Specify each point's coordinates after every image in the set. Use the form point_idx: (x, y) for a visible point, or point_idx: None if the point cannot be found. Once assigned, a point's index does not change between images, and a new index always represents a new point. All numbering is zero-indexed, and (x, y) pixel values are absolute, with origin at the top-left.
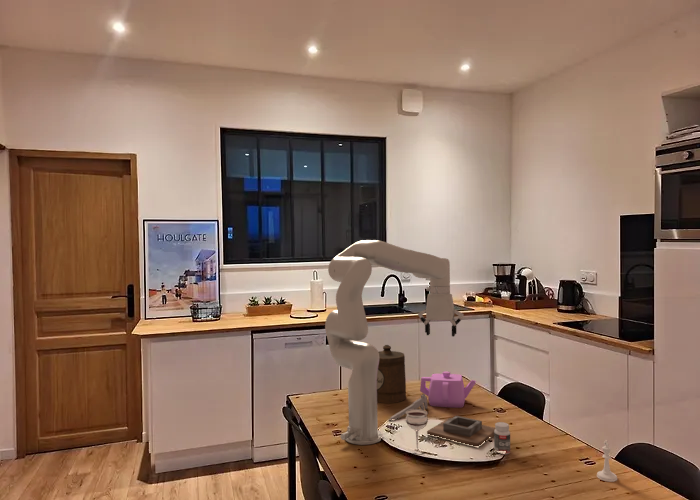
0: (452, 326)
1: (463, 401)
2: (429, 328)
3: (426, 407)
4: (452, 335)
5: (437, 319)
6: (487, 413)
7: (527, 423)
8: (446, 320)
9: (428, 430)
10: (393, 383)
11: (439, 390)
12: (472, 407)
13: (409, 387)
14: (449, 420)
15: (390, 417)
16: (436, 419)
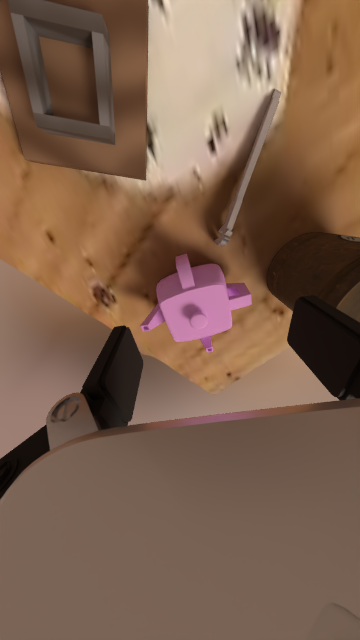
0: (93, 381)
1: (157, 284)
2: (315, 358)
3: (215, 240)
4: (120, 326)
5: (297, 425)
6: (110, 270)
7: (30, 252)
8: (116, 432)
9: (145, 3)
10: (312, 251)
11: (200, 275)
12: (145, 288)
13: (270, 334)
14: (101, 69)
15: (278, 102)
16: (176, 181)
